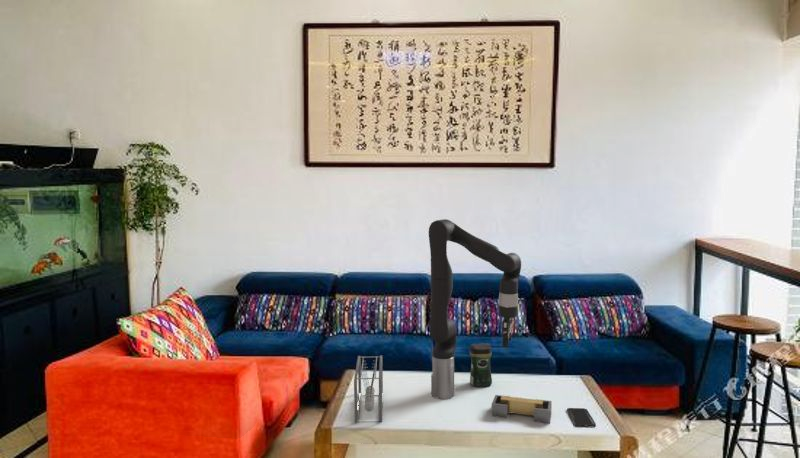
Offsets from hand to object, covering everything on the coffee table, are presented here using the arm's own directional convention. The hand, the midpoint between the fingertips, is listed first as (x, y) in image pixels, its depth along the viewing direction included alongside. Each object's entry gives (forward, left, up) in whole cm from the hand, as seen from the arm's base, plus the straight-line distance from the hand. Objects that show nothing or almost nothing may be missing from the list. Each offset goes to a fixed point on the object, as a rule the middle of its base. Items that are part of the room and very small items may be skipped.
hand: (506, 343), depth 223 cm
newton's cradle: (-53, -14, -27) cm, 61 cm away
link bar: (+6, -3, -26) cm, 27 cm away
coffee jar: (-15, +24, -27) cm, 39 cm away
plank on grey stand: (+6, -4, -27) cm, 28 cm away
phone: (+28, 0, -28) cm, 39 cm away
